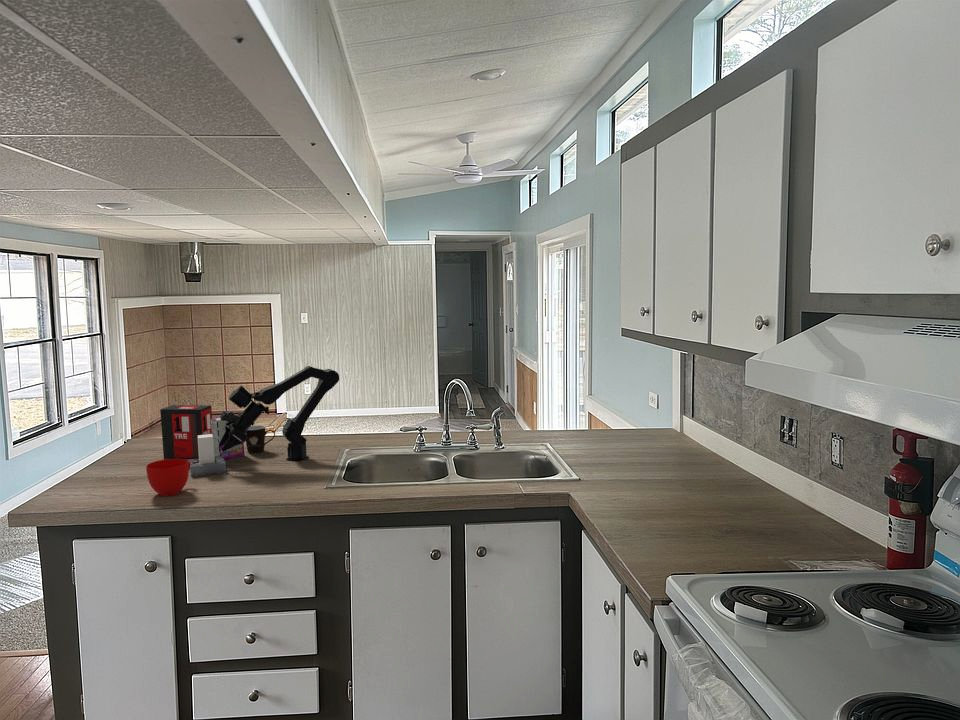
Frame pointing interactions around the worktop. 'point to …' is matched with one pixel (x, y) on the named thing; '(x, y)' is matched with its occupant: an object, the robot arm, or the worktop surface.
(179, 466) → the ceramic cup
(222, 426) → the candy bar box
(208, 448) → the keyed peg
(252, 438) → the coffee mug
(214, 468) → the keyed socket block
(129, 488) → the worktop surface
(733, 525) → the worktop surface
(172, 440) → the cleaning product box
